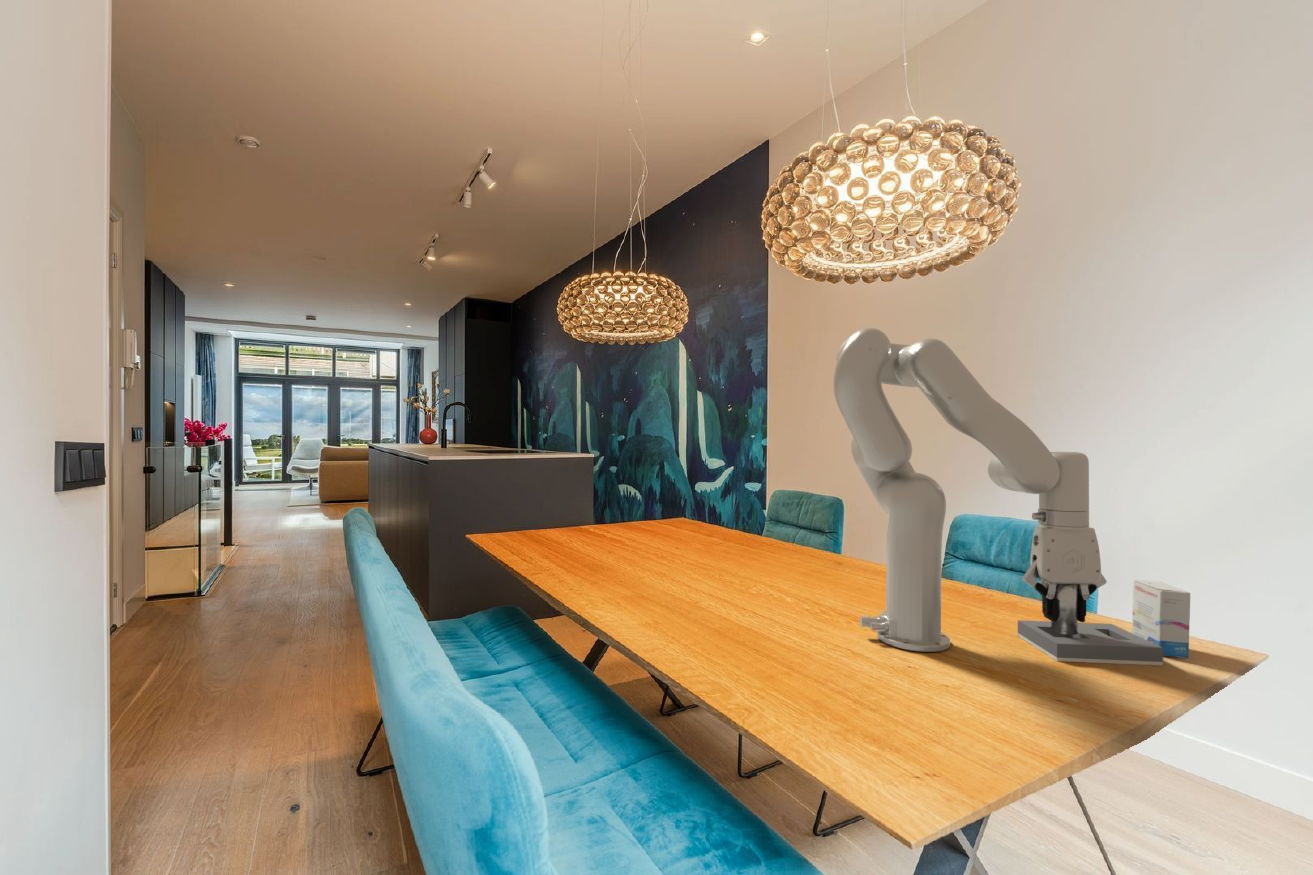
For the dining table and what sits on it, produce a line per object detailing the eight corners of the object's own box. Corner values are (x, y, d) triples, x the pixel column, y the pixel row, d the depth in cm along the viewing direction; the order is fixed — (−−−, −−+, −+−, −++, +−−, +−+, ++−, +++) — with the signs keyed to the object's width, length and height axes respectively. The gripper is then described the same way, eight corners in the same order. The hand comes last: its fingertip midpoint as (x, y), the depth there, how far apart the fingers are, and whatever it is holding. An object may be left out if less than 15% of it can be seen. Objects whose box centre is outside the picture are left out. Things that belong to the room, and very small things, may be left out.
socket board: (1056, 660, 101) (1057, 643, 101) (1017, 635, 114) (1017, 620, 114) (1162, 665, 100) (1163, 647, 100) (1111, 639, 113) (1111, 623, 113)
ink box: (1191, 658, 103) (1192, 591, 103) (1158, 656, 104) (1159, 589, 104) (1160, 642, 111) (1161, 579, 111) (1130, 640, 112) (1130, 578, 112)
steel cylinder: (1059, 634, 105) (1058, 562, 106) (1046, 627, 109) (1046, 557, 110) (1082, 635, 105) (1082, 562, 105) (1069, 628, 109) (1068, 557, 109)
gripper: (1026, 521, 104) (1026, 624, 104) (1127, 522, 103) (1127, 627, 103) (1005, 516, 112) (1005, 612, 112) (1098, 517, 110) (1099, 614, 110)
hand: (1064, 618), depth 107 cm, fingers closed on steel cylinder, 4 cm apart
